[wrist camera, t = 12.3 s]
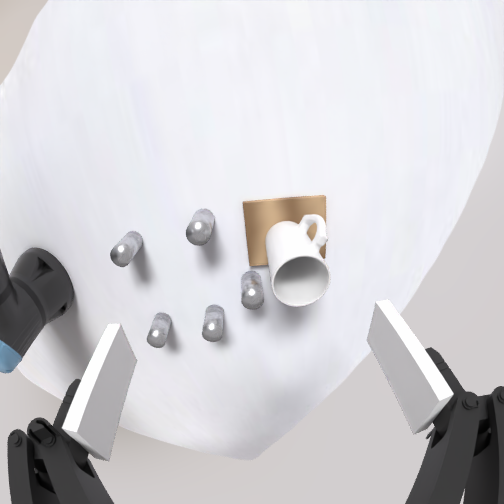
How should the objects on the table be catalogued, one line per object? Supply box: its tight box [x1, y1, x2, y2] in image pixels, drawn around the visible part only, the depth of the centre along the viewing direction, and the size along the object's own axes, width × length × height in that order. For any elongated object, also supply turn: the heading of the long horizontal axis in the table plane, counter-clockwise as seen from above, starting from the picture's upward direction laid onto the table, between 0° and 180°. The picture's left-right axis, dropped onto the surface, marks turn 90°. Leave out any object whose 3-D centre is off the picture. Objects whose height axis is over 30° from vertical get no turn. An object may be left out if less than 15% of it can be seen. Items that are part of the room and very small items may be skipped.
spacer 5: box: [241, 271, 264, 309], centre depth 42 cm, size 3×3×6 cm
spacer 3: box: [186, 209, 215, 245], centre depth 37 cm, size 3×3×6 cm
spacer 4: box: [202, 305, 224, 342], centre depth 45 cm, size 3×3×6 cm
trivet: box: [243, 195, 326, 266], centre depth 41 cm, size 12×10×1 cm
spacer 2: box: [147, 313, 171, 348], centre depth 45 cm, size 3×3×6 cm
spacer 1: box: [110, 231, 143, 267], centre depth 38 cm, size 3×3×6 cm
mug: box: [265, 214, 331, 307], centre depth 35 cm, size 10×7×12 cm, turn 153°
